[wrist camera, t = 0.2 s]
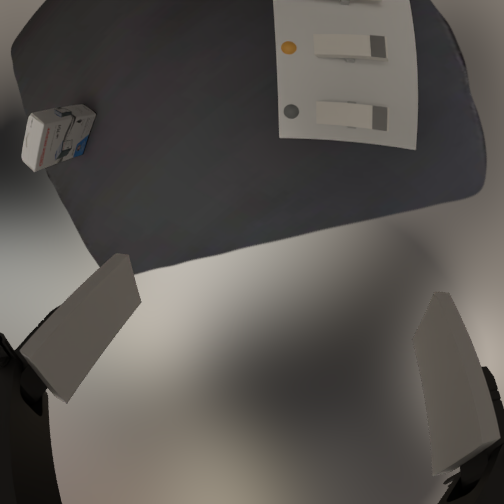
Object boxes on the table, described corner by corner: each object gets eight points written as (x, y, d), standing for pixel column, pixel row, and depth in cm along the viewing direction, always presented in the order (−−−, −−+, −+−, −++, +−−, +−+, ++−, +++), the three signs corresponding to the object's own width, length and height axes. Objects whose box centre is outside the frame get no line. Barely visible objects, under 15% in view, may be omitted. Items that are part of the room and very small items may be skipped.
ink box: (83, 155, 40) (34, 174, 30) (68, 143, 40) (20, 160, 30) (97, 112, 36) (44, 124, 26) (80, 102, 35) (29, 112, 25)
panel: (274, -18, 22) (269, -29, 19) (401, -7, 18) (408, -16, 15) (281, 136, 33) (278, 138, 30) (409, 147, 29) (418, 151, 26)
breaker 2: (319, 101, 27) (315, 101, 26) (389, 108, 24) (389, 107, 22) (320, 123, 29) (315, 123, 27) (388, 130, 25) (388, 131, 24)
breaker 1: (317, 38, 23) (312, 33, 22) (386, 41, 20) (386, 36, 18) (318, 57, 25) (313, 54, 23) (388, 61, 21) (388, 58, 20)
